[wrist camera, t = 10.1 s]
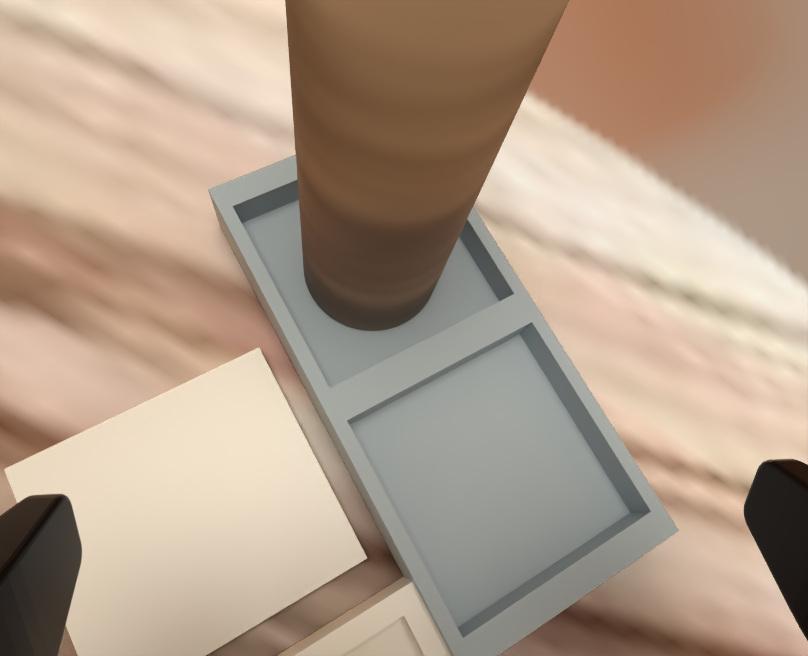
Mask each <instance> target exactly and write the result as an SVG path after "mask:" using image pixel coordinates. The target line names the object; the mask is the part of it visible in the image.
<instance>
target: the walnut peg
mask: <svg viewBox="0 0 808 656" xmlns="http://www.w3.org/2000/svg"><path fill="white" fill-rule="evenodd" d="M285 2H286V17H287V31H288V46H289V61H290V76H291V91H292V105H293V120H294V135H295V150H296V164H297V179H298V194H299V209H300V224H301V238H302V253H303V268H304V277H305V282H306V285H307V288H308V290H309V292H310V294H311V296H312V298H313V299H314V301H315V302H316V303H317V305H318V306H319V307H320V308H321V309H322V310H323V311H324V312H325V313H326V314H327V315H329V316H330V317H331V318H333V319H334V320H336V321H338V322H340V323H342V324H344V325H346V326H349V327H352V328H356V329H361V330H384V329H389V328H393V327H396V326H399V325H401V324H403V323H405V322H407V321H409V320H410V319H412V318H413V317H414V316H416V315H417V314H418V313H419V312H420V311H421V310H422V309H423V308H424V306H425V305H426V304H427V302H428V301H429V299H430V297H431V295H432V293H433V291H434V289H435V287H436V285H437V282H438V280H439V278H440V276H441V274H442V272H443V270H444V267H445V265H446V263H447V261H448V259H449V257H450V255H451V252H452V250H453V248H454V246H455V244H456V242H457V240H458V237H459V235H460V233H461V231H462V229H463V227H464V225H465V222H466V220H467V218H468V216H469V214H470V212H471V210H472V207H473V205H474V203H475V201H476V199H477V197H478V195H479V192H480V190H481V188H482V186H483V184H484V182H485V180H486V177H487V175H488V173H489V171H490V169H491V167H492V165H493V162H494V160H495V158H496V156H497V154H498V152H499V150H500V147H501V145H502V143H503V141H504V139H505V137H506V135H507V132H508V130H509V128H510V126H511V124H512V122H513V120H514V117H515V115H516V113H517V111H518V109H519V107H520V105H521V102H522V100H523V98H524V96H525V94H526V92H527V90H528V87H529V85H530V83H531V81H532V79H533V77H534V75H535V72H536V70H537V68H538V66H539V64H540V62H541V60H542V57H543V55H544V53H545V51H546V49H547V47H548V45H549V42H550V40H551V38H552V36H553V34H554V32H555V30H556V27H557V25H558V23H559V21H560V19H561V17H562V15H563V12H564V10H565V8H566V6H567V4H568V2H569V0H285Z"/></svg>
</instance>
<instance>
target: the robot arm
mask: <svg viewBox="0 0 808 656" xmlns="http://www.w3.org/2000/svg"><path fill="white" fill-rule="evenodd" d="M744 517H745V521H746V523H747V526H748V528H749V530H750V532H751V534H752V536H753V537H754V539H755V541H756V543H757V545H758V547H759V549H760V551H761V553H762V555H763V557H764V559H765V561H766V563H767V565H768V567H769V569H770V571H771V573H772V575H773V577H774V579H775V581H776V583H777V585H778V587H779V589H780V591H781V593H782V595H783V597H784V598H785V600H786V602H787V604H788V606H789V608H790V610H791V612H792V614H793V616H794V618H795V620H796V621H797V623H798V625H799V627H800V629H801V630H802V632H803V634H804V635H805V637H806V639H807V640H808V465H807V464H805V463H803V462H801V461H798V460H794V459H775V460H767V461H764V462H763V463H762V464H761V465H760V466H759V468H758V470H757V472H756V475H755V478H754V480H753V483H752V485H751V488H750V491H749V493H748V496H747V498H746V501H745V504H744ZM81 560H82V544H81V539H80V535H79V531H78V527H77V523H76V519H75V515H74V511H73V507H72V504H71V501H70V499H69V498H68V496H66V495H64V494H42V495H32V496H28V497H26V498H24V499H23V500H21V501H20V502H19V503H17V504H16V505H14V506H13V507H12V508H10V509H9V510H8V511H6V512H5V513H3V514H2V515H1V516H0V656H58V652H59V648H60V645H61V641H62V637H63V633H64V629H65V625H66V621H67V617H68V613H69V609H70V605H71V601H72V597H73V593H74V590H75V586H76V582H77V578H78V574H79V570H80V566H81Z"/></svg>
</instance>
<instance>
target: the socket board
mask: <svg viewBox="0 0 808 656" xmlns="http://www.w3.org/2000/svg"><path fill="white" fill-rule="evenodd" d="M208 190H209V193H210V196H211V199H212V202H213V206H214V209H215V212H216V215H217V218H218V221H219V224H220V227H221V229H222V231H223V233H224V235H225V237H226V238H227V240H228V242H229V244H230V246H231V248H232V250H233V252H234V254H235V256H236V258H237V259H238V261H239V263H240V265H241V267H242V269H243V271H244V273H245V275H246V277H247V279H248V280H249V282H250V284H251V286H252V288H253V290H254V292H255V294H256V296H257V298H258V300H259V301H260V303H261V305H262V307H263V309H264V311H265V313H266V315H267V317H268V319H269V321H270V322H271V324H272V326H273V328H274V330H275V332H276V334H277V336H278V338H279V340H280V341H281V343H282V345H283V347H284V349H285V351H286V353H287V355H288V357H289V359H290V361H291V362H292V364H293V366H294V368H295V370H296V372H297V374H298V376H299V378H300V380H301V382H302V383H303V385H304V387H305V389H306V391H307V393H308V395H309V397H310V399H311V401H312V403H313V404H314V406H315V408H316V410H317V412H318V414H319V416H320V418H321V420H322V422H323V424H324V425H325V427H326V429H327V431H328V433H329V435H330V437H331V439H332V441H333V443H334V445H335V446H336V448H337V450H338V452H339V454H340V456H341V458H342V460H343V462H344V464H345V465H346V467H347V469H348V471H349V473H350V475H351V477H352V479H353V481H354V483H355V485H356V486H357V488H358V490H359V492H360V494H361V496H362V498H363V500H364V502H365V504H366V506H367V507H368V509H369V511H370V513H371V515H372V517H373V519H374V521H375V523H376V525H377V527H378V528H379V530H380V532H381V534H382V536H383V538H384V540H385V542H386V544H387V546H388V548H389V549H390V551H391V553H392V555H393V557H394V559H395V561H396V563H397V565H398V567H399V568H400V570H401V572H402V574H403V576H404V577H405V578H407V579H409V580H411V581H413V583H414V585H415V587H416V589H417V591H418V593H419V595H420V597H421V598H422V600H423V602H424V604H425V606H426V608H427V610H428V612H429V614H430V615H431V617H432V619H433V621H434V623H435V625H436V627H437V629H438V631H439V633H440V634H441V636H442V638H443V640H444V642H445V644H446V646H447V648H448V650H449V652H450V653H451V655H452V656H499V655H500V654H501V653H503V652H504V651H506V650H507V649H509V648H510V647H512V646H513V645H514V644H516V643H517V642H519V641H520V640H522V639H523V638H525V637H526V636H527V635H529V634H530V633H532V632H533V631H535V630H536V629H538V628H539V627H540V626H542V625H543V624H545V623H546V622H548V621H549V620H551V619H552V618H553V617H555V616H556V615H558V614H559V613H561V612H562V611H564V610H565V609H566V608H568V607H569V606H571V605H572V604H574V603H575V602H577V601H578V600H579V599H581V598H582V597H584V596H585V595H587V594H588V593H590V592H591V591H592V590H594V589H595V588H597V587H598V586H600V585H601V584H603V583H604V582H605V581H607V580H608V579H610V578H611V577H613V576H614V575H616V574H617V573H618V572H620V571H621V570H623V569H624V568H626V567H627V566H629V565H630V564H631V563H633V562H634V561H636V560H637V559H639V558H640V557H642V556H643V555H644V554H646V553H647V552H649V551H650V550H652V549H653V548H655V547H656V546H657V545H659V544H660V543H662V542H663V541H665V540H666V539H667V538H669V537H670V536H672V535H673V534H675V533H676V532H678V531H679V530H678V529H677V527H676V525H675V524H674V522H673V521H672V519H671V518H670V516H669V514H668V513H667V511H666V510H665V508H664V507H663V505H662V503H661V502H660V500H659V499H658V497H657V495H656V494H655V492H654V491H653V489H652V488H651V486H650V484H649V483H648V481H647V480H646V478H645V477H644V475H643V473H642V472H641V470H640V469H639V467H638V466H637V464H636V462H635V461H634V459H633V458H632V456H631V454H630V453H629V451H628V450H627V448H626V447H625V445H624V443H623V442H622V440H621V439H620V437H619V436H618V434H617V432H616V431H615V429H614V428H613V426H612V424H611V423H610V421H609V420H608V418H607V417H606V415H605V413H604V412H603V410H602V409H601V407H600V406H599V404H598V402H597V401H596V399H595V398H594V396H593V394H592V393H591V391H590V390H589V388H588V387H587V385H586V383H585V382H584V380H583V379H582V377H581V376H580V374H579V372H578V371H577V369H576V368H575V366H574V365H573V363H572V361H571V360H570V358H569V357H568V355H567V353H566V352H565V350H564V349H563V347H562V346H561V344H560V342H559V341H558V339H557V338H556V336H555V335H554V333H553V331H552V330H551V328H550V327H549V325H548V323H547V322H546V320H545V319H544V317H543V316H542V314H541V312H540V311H539V309H538V308H537V306H536V305H535V303H534V301H533V300H532V298H531V297H530V295H529V294H528V292H527V290H526V289H525V287H524V286H523V284H522V282H521V281H520V279H519V278H518V276H517V275H516V273H515V271H514V270H513V268H512V267H511V265H510V264H509V262H508V260H507V259H506V257H505V256H504V254H503V252H502V251H501V249H500V248H499V246H498V245H497V243H496V241H495V240H494V238H493V237H492V235H491V234H490V232H489V230H488V229H487V227H486V226H485V224H484V222H483V221H482V219H481V218H480V216H479V215H478V213H477V211H476V210H475V208H474V207H472V210H471V212H470V214H469V216H468V218H467V220H466V222H465V225H464V227H463V229H462V231H461V233H460V235H459V237H458V240H457V242H456V244H455V246H454V248H453V250H452V252H451V255H450V257H449V259H448V261H447V263H446V265H445V267H444V270H443V272H442V274H441V276H440V278H439V280H438V282H437V285H436V287H435V289H434V291H433V293H432V295H431V297H430V299H429V301H428V302H427V304H426V305H425V306H424V308H423V309H422V310H421V311H420V312H419V313H418V314H417V315H416V316H414V317H413V318H412V319H410V320H409V321H407V322H405V323H403V324H401V325H399V326H396V327H393V328H389V329H384V330H361V329H356V328H352V327H349V326H346V325H344V324H342V323H340V322H338V321H336V320H334V319H333V318H331V317H330V316H329V315H327V314H326V313H325V312H324V311H323V310H322V309H321V308H320V307H319V306H318V305H317V303H316V302H315V301H314V299H313V298H312V296H311V294H310V292H309V290H308V288H307V285H306V282H305V277H304V268H303V253H302V238H301V224H300V209H299V194H298V179H297V164H296V155H294V156H291V157H289V158H286V159H284V160H281V161H279V162H276V163H274V164H271V165H269V166H266V167H264V168H261V169H259V170H256V171H254V172H251V173H249V174H246V175H244V176H241V177H239V178H236V179H234V180H231V181H229V182H226V183H224V184H221V185H218V186H216V187H213V188H211V189H208Z"/></svg>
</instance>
